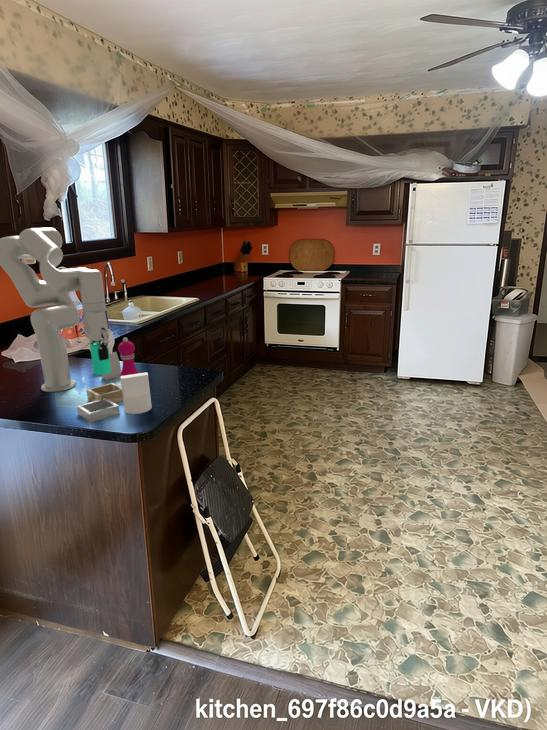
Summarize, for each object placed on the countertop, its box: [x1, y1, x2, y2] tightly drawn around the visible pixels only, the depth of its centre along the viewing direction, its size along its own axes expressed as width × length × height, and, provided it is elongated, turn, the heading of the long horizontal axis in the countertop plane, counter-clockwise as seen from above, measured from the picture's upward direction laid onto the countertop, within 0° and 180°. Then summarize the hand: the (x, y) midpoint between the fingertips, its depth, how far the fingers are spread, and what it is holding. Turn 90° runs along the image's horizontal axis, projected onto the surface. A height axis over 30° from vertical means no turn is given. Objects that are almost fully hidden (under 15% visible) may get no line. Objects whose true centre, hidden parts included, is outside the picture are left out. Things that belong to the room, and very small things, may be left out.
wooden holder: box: [76, 398, 121, 423], centre depth 165 cm, size 10×10×3 cm
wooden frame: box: [86, 382, 124, 404], centre depth 178 cm, size 10×10×4 cm
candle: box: [89, 341, 111, 376], centre depth 174 cm, size 6×6×12 cm
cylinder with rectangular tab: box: [119, 371, 153, 415], centre depth 167 cm, size 9×9×12 cm
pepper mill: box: [117, 337, 140, 381], centre depth 187 cm, size 7×7×20 cm
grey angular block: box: [101, 351, 122, 381], centre depth 202 cm, size 4×7×10 cm, turn 137°
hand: (100, 357), depth 174 cm, fingers closed on candle, 4 cm apart
